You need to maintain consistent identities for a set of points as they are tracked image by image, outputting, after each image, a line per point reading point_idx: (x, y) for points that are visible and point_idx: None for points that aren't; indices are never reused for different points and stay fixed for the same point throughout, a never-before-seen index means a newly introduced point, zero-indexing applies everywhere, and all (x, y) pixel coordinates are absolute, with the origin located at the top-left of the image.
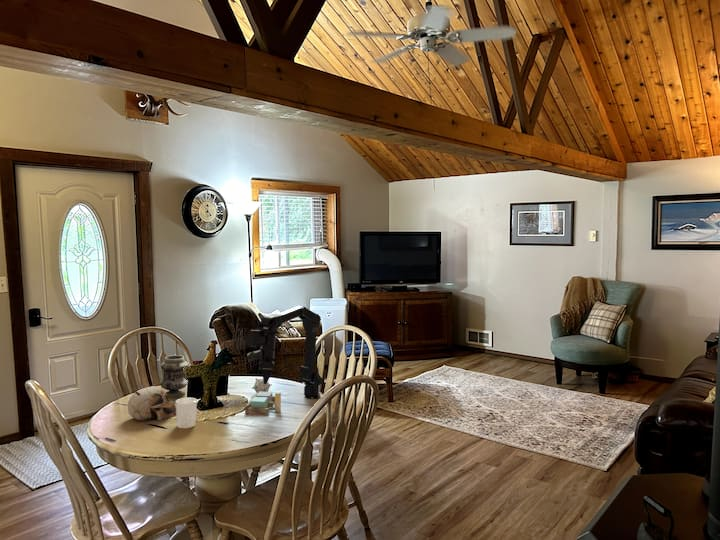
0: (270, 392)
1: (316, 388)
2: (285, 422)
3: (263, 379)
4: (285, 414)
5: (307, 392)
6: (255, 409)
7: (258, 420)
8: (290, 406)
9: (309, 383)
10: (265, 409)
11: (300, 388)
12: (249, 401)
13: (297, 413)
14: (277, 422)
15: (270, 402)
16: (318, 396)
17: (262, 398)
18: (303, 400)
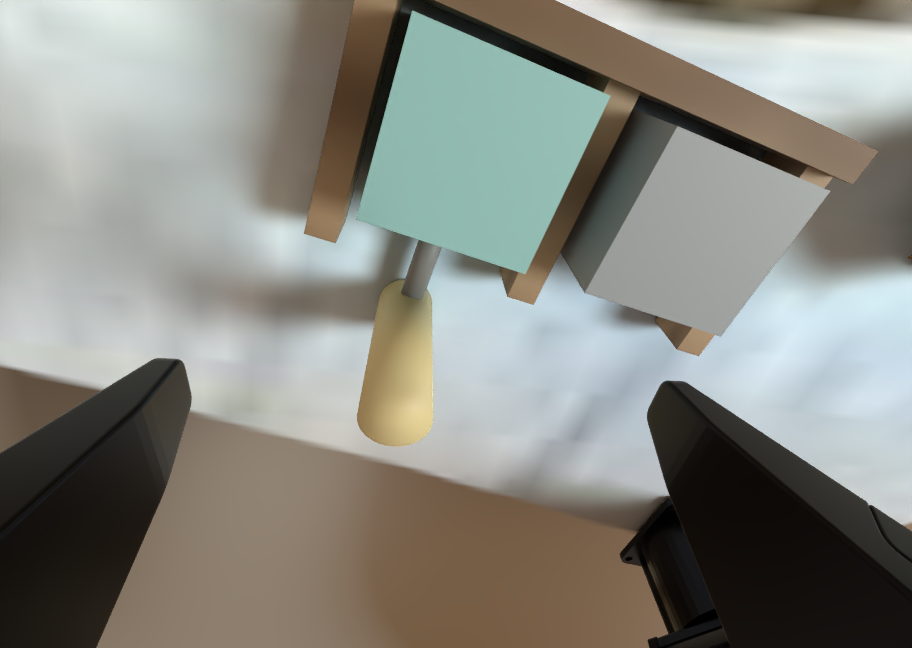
0: (714, 316)
1: (666, 612)
2: (117, 333)
3: (42, 432)
4: (320, 352)
5: (687, 542)
6: (339, 82)
7: (145, 95)
8: (511, 402)
9: (716, 622)
10: (311, 203)
11: (893, 494)
12: (556, 9)
13: (336, 428)
14: (108, 274)
15: (523, 275)
16: (635, 564)
17: (499, 207)
18: (617, 485)
